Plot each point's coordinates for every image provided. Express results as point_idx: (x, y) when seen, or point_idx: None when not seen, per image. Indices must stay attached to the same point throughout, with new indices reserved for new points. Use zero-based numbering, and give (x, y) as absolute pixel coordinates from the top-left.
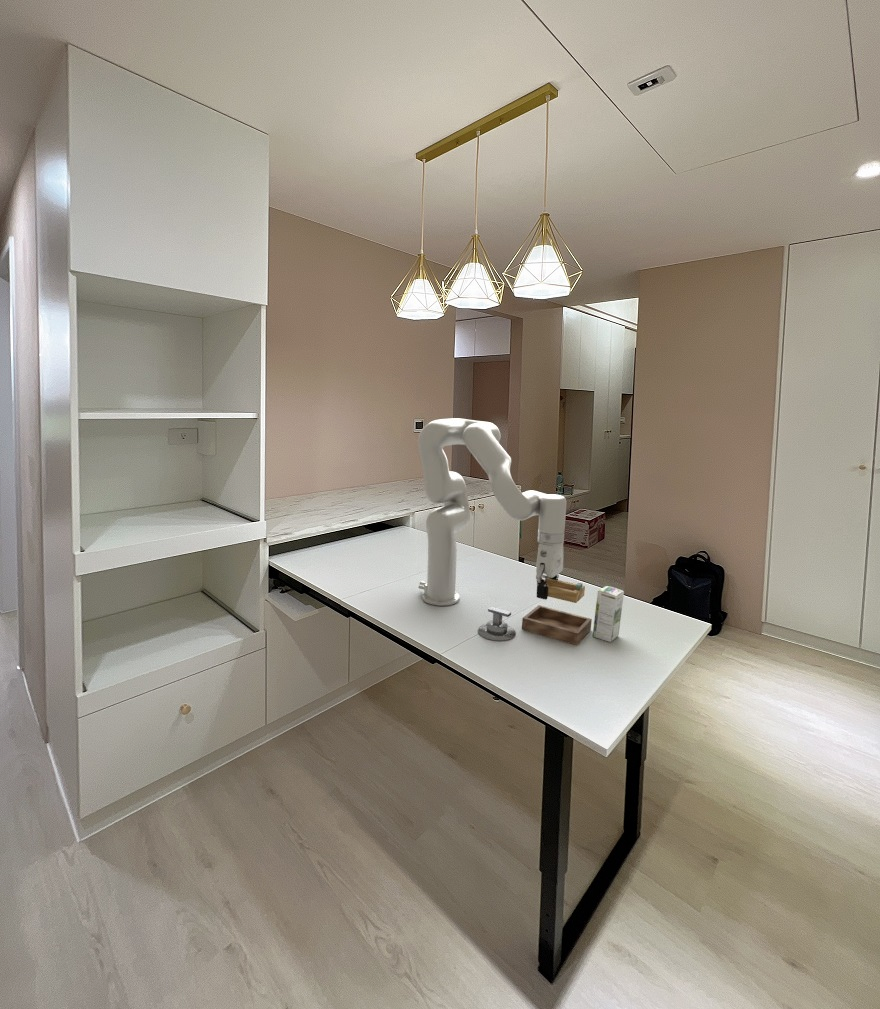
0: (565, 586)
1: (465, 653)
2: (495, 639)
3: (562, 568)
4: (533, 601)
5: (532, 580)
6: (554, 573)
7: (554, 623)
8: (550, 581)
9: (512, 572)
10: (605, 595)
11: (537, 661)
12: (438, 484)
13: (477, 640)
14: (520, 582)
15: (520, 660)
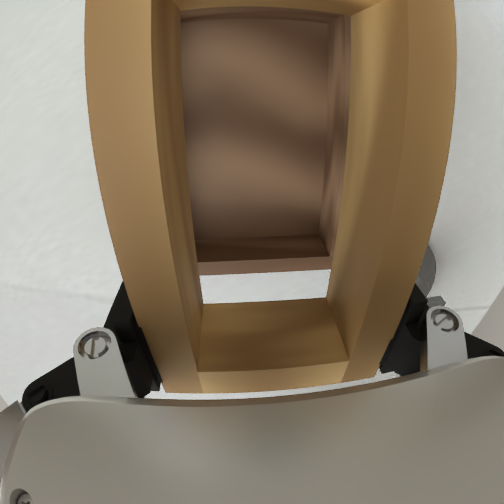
0: (173, 175)
1: (490, 278)
2: (435, 266)
3: (40, 426)
4: (83, 307)
5: (4, 348)
6: (471, 413)
7: (209, 157)
8: (195, 347)
9: (22, 386)
10: None
11: (490, 121)
12: None
13: (440, 294)
14: (34, 365)
15: (498, 164)
